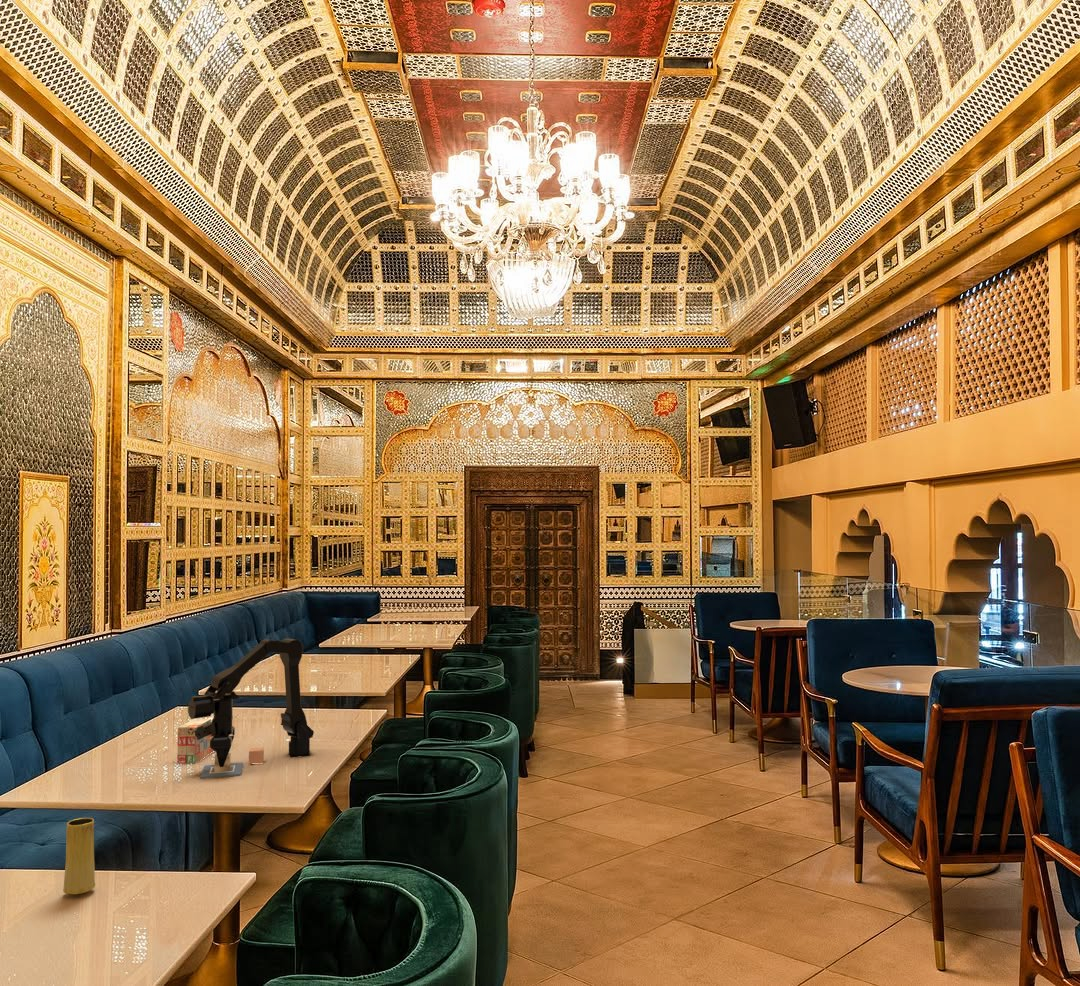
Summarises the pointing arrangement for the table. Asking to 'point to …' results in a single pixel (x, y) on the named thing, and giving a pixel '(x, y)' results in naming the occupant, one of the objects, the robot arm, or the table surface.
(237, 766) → the board
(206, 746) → the stack of blocks
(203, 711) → the robot arm
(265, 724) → the table surface
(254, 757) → the terracotta block
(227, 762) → the maple block
